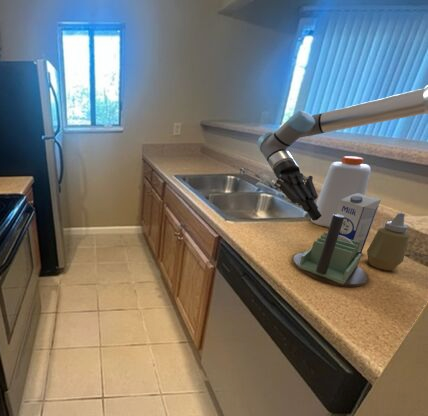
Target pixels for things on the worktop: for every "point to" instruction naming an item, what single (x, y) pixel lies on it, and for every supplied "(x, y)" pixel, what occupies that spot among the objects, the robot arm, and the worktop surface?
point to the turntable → (354, 280)
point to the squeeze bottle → (389, 244)
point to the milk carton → (357, 217)
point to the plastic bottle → (341, 186)
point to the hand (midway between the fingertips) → (317, 218)
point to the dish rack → (332, 254)
